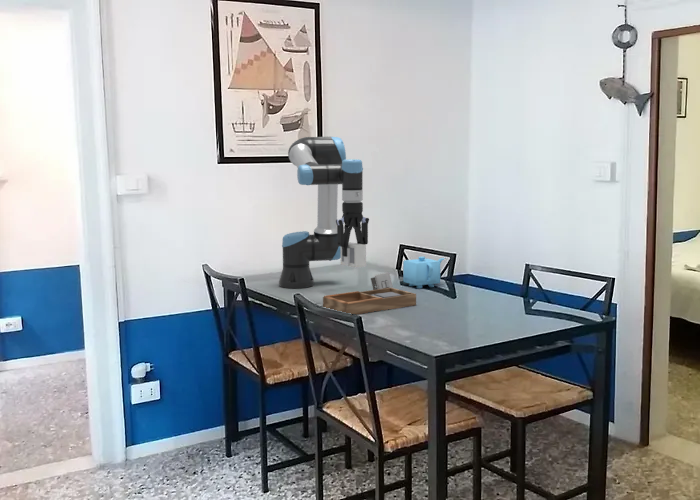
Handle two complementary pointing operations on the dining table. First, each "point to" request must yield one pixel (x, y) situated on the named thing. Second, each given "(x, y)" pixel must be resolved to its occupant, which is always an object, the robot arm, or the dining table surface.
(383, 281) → the electrical switch
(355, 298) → the wooden compartment tray
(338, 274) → the dining table surface
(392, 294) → the grey module
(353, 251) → the white block
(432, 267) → the teapot
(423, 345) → the dining table surface
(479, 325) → the dining table surface
